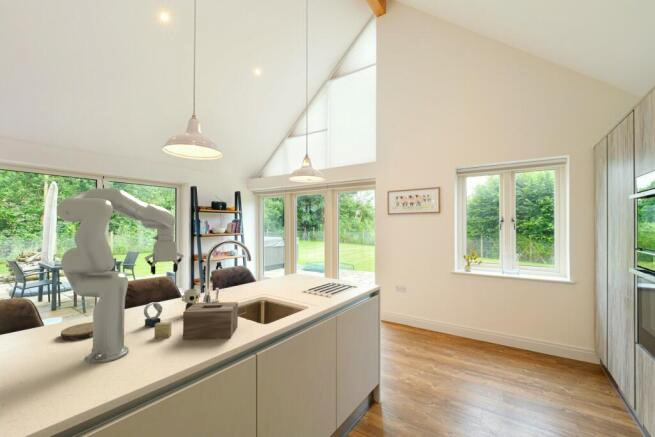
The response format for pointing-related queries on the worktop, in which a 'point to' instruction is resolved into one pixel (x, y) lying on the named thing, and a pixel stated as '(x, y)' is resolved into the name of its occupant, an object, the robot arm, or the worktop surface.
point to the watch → (153, 320)
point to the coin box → (210, 320)
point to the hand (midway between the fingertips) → (164, 273)
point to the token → (163, 330)
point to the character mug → (190, 297)
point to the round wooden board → (78, 332)
